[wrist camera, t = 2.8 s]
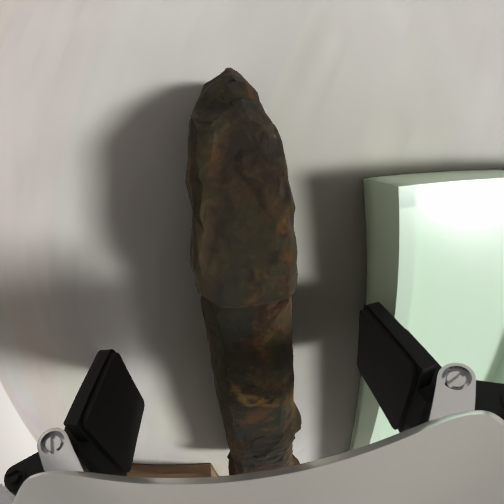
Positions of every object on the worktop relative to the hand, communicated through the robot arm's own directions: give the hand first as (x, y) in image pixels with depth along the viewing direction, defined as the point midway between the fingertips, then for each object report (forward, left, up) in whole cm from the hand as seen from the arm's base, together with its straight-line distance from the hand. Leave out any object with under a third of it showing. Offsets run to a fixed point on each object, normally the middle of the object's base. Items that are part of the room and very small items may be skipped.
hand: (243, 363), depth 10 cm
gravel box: (+15, -8, -2) cm, 17 cm away
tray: (+7, +13, -2) cm, 15 cm away
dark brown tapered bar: (0, 0, -2) cm, 2 cm away
